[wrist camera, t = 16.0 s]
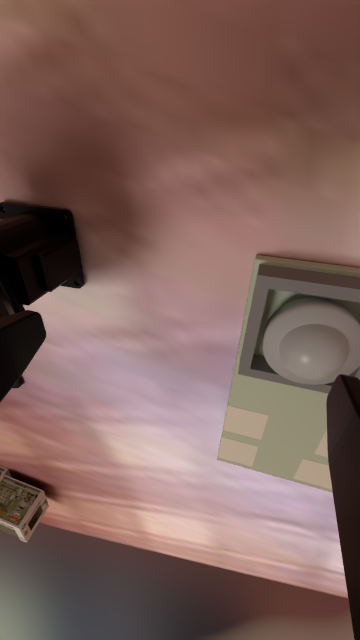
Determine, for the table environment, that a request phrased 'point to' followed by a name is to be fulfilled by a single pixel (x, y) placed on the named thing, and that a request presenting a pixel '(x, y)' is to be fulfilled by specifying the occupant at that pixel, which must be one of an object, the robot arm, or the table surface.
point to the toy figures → (20, 506)
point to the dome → (312, 341)
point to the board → (282, 378)
